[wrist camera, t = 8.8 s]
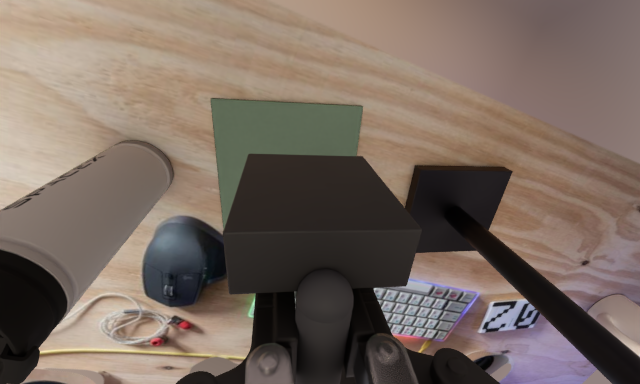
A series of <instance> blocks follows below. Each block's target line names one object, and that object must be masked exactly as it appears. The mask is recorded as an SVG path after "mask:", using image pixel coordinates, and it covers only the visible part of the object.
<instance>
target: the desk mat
mask: <svg viewBox="0 0 640 384" xmlns="http://www.w3.org/2000/svg"><path fill="white" fill-rule="evenodd" d="M211 108H212V118H213V128H214V138H215V148H216V158H217V168H218V178H219V188H220V198H221V208H222V218H223V228H225V225H226V222H227V219H228V216H229V213H230V209H231V206H232V203H233V200H234V197H235V194H236V191H237V188H238V185H239V182H240V178H241V175H242V172H243V169H244V166H245V163H246V160H247V157H248V154H287V155H325V156H356V155H357V147H358V140H359V133H360V125H361V118H362V110H363V106H352V105H333V104H314V103H294V102H275V101H256V100H236V99H217V98H211Z"/></svg>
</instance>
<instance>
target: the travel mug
mask: <svg viewBox="0 0 640 384" xmlns="http://www.w3.org/2000/svg"><path fill="white" fill-rule="evenodd" d="M172 178H173V171H172V167H171V164H170V162H169V160H168V159H167V158H166V156H165V155H164V154H163V153H162V152H161V151H160V150H158V149H157V148H155V147H154V146H152V145H150V144H148V143H144V142H141V141H134V140H132V141H123V142H120V143H118V144H116V145H114V146H112V147H110V148H109V149H107V150H105V151H103V152H102V153H100V154H98V155H96V156H95V157H93V158H91V159H89V160H87V161H86V162H84V163H82V164H80V165H79V166H77V167H75V168H73V169H72V170H70V171H68V172H66V173H65V174H63V175H61V176H59V177H58V178H56V179H54V180H52V181H51V182H49V183H47V184H45V185H44V186H42V187H40V188H38V189H37V190H35V191H33V192H31V193H30V194H28V195H26V196H24V197H23V198H21V199H19V200H17V201H16V202H14V203H12V204H10V205H9V206H7V207H5V208H3V209H1V210H0V384H20V383H22V382H23V381H24V380H25V379H26V378H27V376H28V375H29V374H30V373H31V371H32V370H33V369H34V368H35V367H36V366H37V363H38V360H39V353H40V351H39V349H38V348H39V347H40V346H41V344H42V343H43V342H44V341H45V340H46V338H47V337H48V336H49V335H50V333H51V332H52V330H53V329H54V328H55V327H56V326H57V325H58V324H59V323H60V322H61V321H62V320H63V319H64V318H65V317H66V315H67V314H68V313H69V312H70V310H71V309H72V307H73V306H74V305H75V304H76V303H77V301H78V300H79V299H80V298H81V296H82V295H83V294H84V293H85V291H86V290H87V289H88V288H89V286H90V285H91V284H92V283H93V281H94V280H95V279H96V278H97V276H98V275H99V274H100V273H101V271H102V270H103V269H104V268H105V266H106V265H107V264H108V263H109V261H110V260H111V259H112V258H113V256H114V255H115V254H116V253H117V251H118V250H119V249H120V248H121V246H122V245H123V244H124V243H125V241H126V240H127V239H128V238H129V236H130V235H131V234H132V233H133V231H134V230H135V229H136V228H137V226H138V225H139V224H140V223H141V221H142V220H143V219H144V218H145V216H146V215H147V214H148V213H149V211H150V210H151V209H152V208H153V206H154V205H155V204H156V203H157V201H158V200H159V199H160V198H161V196H162V195H163V194H164V193H165V191H166V190H167V189H168V188H169V186H170V184H171V182H172Z"/></svg>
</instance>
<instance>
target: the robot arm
mask: <svg viewBox="0 0 640 384" xmlns="http://www.w3.org/2000/svg"><path fill="white" fill-rule="evenodd" d="M352 292H353V297H354V300H353V310H352V315H351V321H350V327H349V333H348V339H347V345H346V351H345V356H344V362H343V365H344V370H345V374H346V378H347V377H355V381H356V384H500V383H499V382H497V381H496V380H495V379H494V378H493V377H491V376H490V375H489V374H488V373H486V372H485V371H484V370H483V369H482V368H480V367H479V366H478V365H477V364H475V363H474V362H473V361H472V360H470V359H469V358H468V357H467V356H465V355H464V354H463V353H461V352H459V351H457V350H454V349H451V348H442V349H440V350H438V351H437V352H436V353H435V355H434V356H431V355H427V354H422V353H418V352H414V351H411V350H409V349H407V348H405V347H404V345H403V344H402V343H401V342H400V341H399V340H398V339H397V338H395V337H393V335H392V333H391V331H390V329H389V326H388V324H387V321H386V319H385V316H384V314H383V312H382V309H381V307H380V304H379V302H378V301H377V297H376V295H375V293H374V290H373V288H357V289H352ZM295 311H296V310H295V297H294V291H292V292H271V293H256V296H255V309H254V320H253V333H252V344H251V349H250V352H249V354H248V355H247V357H246V358H245V360H244V361H243V362H242V363H241V364H240V365H238V366H237V367H236V368H234V369H232V370H230V371H228V372H225V373H223V374H221V375H218V376H216V377H215V376H214V375H212V374H211V373H208V372H203V371H198V372H194V373H191V374H188V375H186V376H185V377H183V378H182V379H180V380H179V381H178V382H177V383H176V384H294V383H296V365H297V345H298V336H297V325H296V321H295Z"/></svg>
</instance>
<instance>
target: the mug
mask: <svg viewBox="0 0 640 384" xmlns="http://www.w3.org/2000/svg"><path fill="white" fill-rule="evenodd" d="M587 313H588V314H589V315H590V316H591V317H593V318H594V319H595V320H596V321H597V322H599V323H600V324H601V325H602V326H603V327H605V328H606V329H607V330H608V331H609V332H611V333H612V334H613V335H614V336H615V337H617V338H618V339H619V340H620V341H621V342H623V343H624V344H625V345H626V346H627V347H629V348H630V349H631V350H632V351H633V352H635V353H636V354H637V355H638V356H639V357H640V306H638V305H637V304H635V303H634V302H633V301H631V300H630V299H628V298H627V297H625V296H623V295H620V294H616V295H611V296H608V297H605V298H603V299H601V300H600V301H598V302H597V303H595V304H594V305H593V306H592V307H591V308H590V309H589V310H588V312H587Z"/></svg>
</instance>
